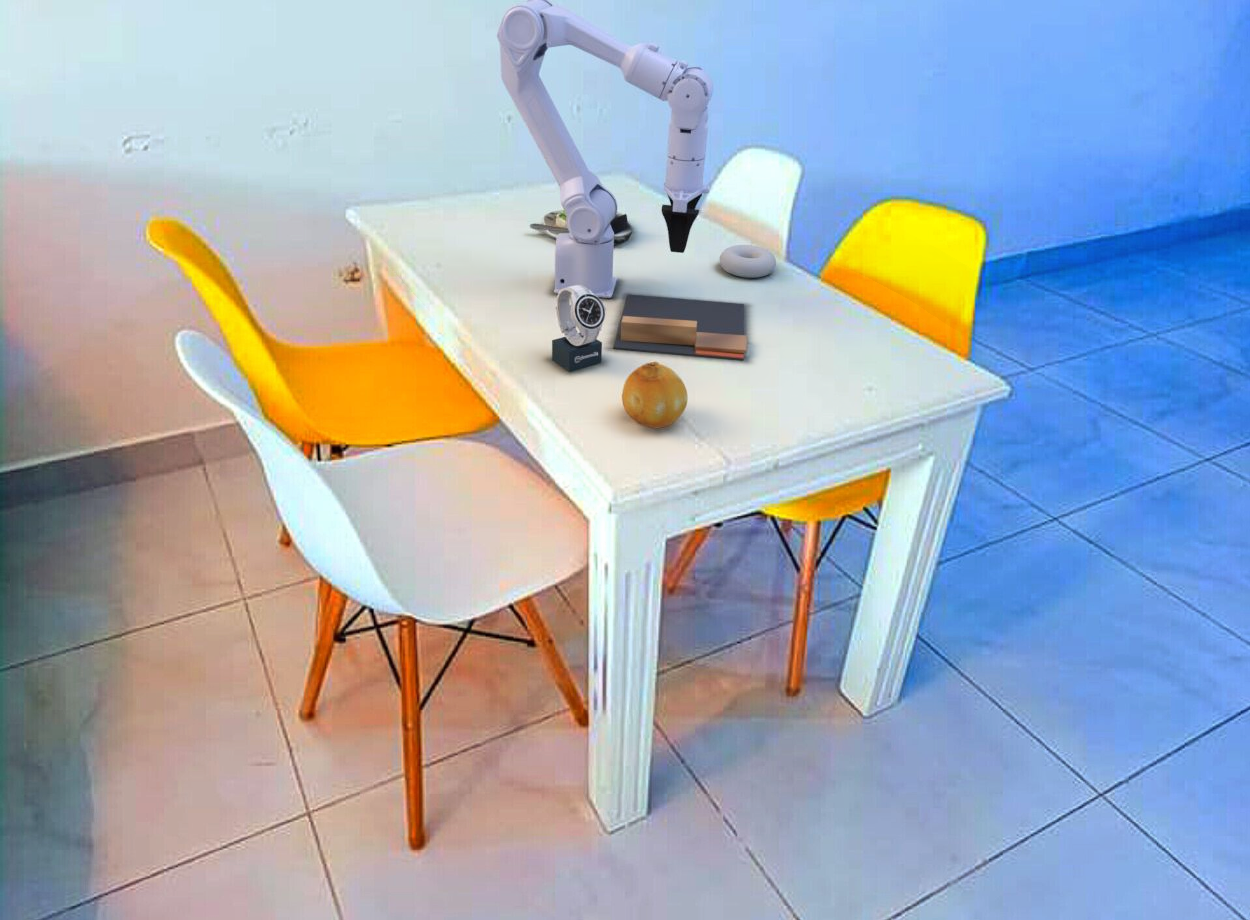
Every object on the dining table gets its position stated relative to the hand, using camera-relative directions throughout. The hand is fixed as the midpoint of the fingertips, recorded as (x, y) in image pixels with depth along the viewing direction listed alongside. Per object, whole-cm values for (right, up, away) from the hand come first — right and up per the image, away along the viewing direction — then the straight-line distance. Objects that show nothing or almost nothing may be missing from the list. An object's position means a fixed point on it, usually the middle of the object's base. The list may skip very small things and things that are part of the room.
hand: (679, 243), depth 145 cm
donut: (+13, -1, +17) cm, 22 cm away
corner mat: (0, -14, -4) cm, 14 cm away
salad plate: (-15, +9, +30) cm, 35 cm away
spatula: (0, -17, -9) cm, 19 cm away
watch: (-15, -21, -15) cm, 30 cm away
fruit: (-5, -29, -28) cm, 41 cm away
